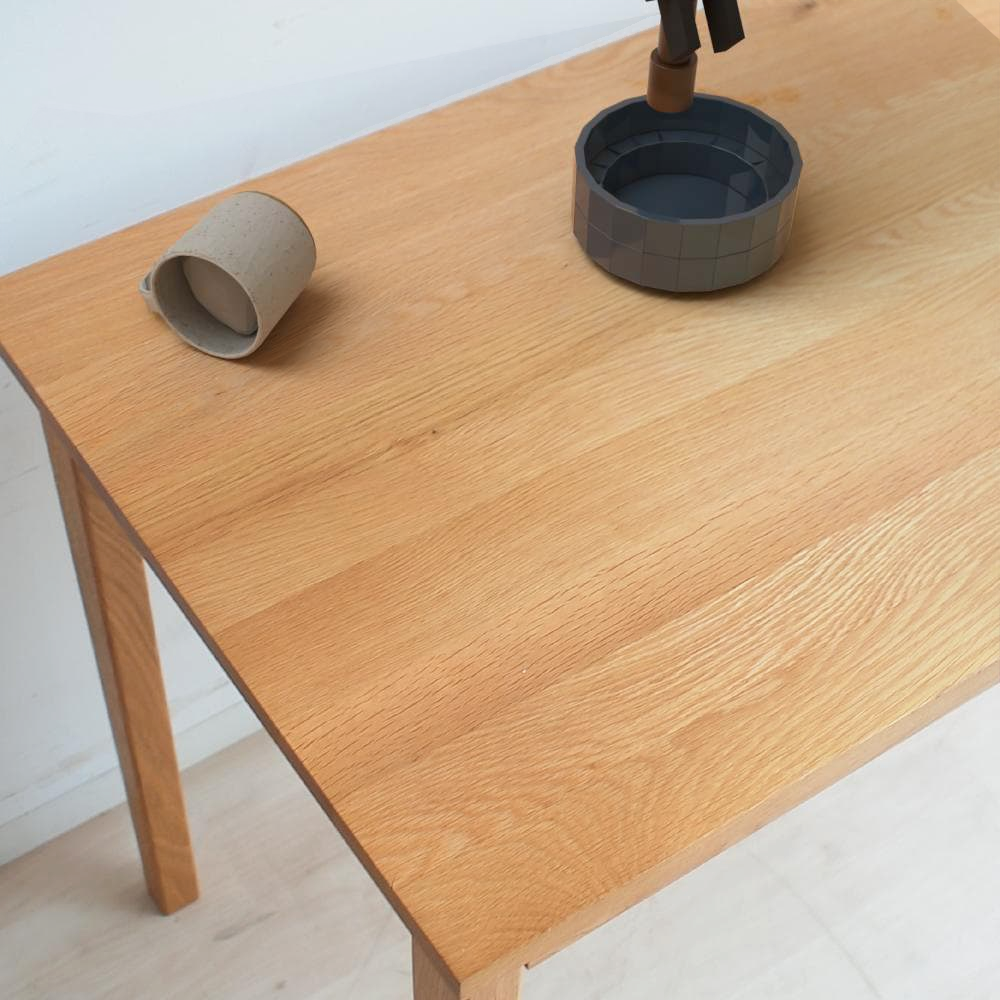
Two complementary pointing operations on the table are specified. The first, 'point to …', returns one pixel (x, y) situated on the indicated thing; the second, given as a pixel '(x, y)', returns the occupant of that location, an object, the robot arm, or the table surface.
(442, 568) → the table surface
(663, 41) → the brown pestle
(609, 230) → the bowl
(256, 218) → the ceramic mug
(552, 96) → the table surface
